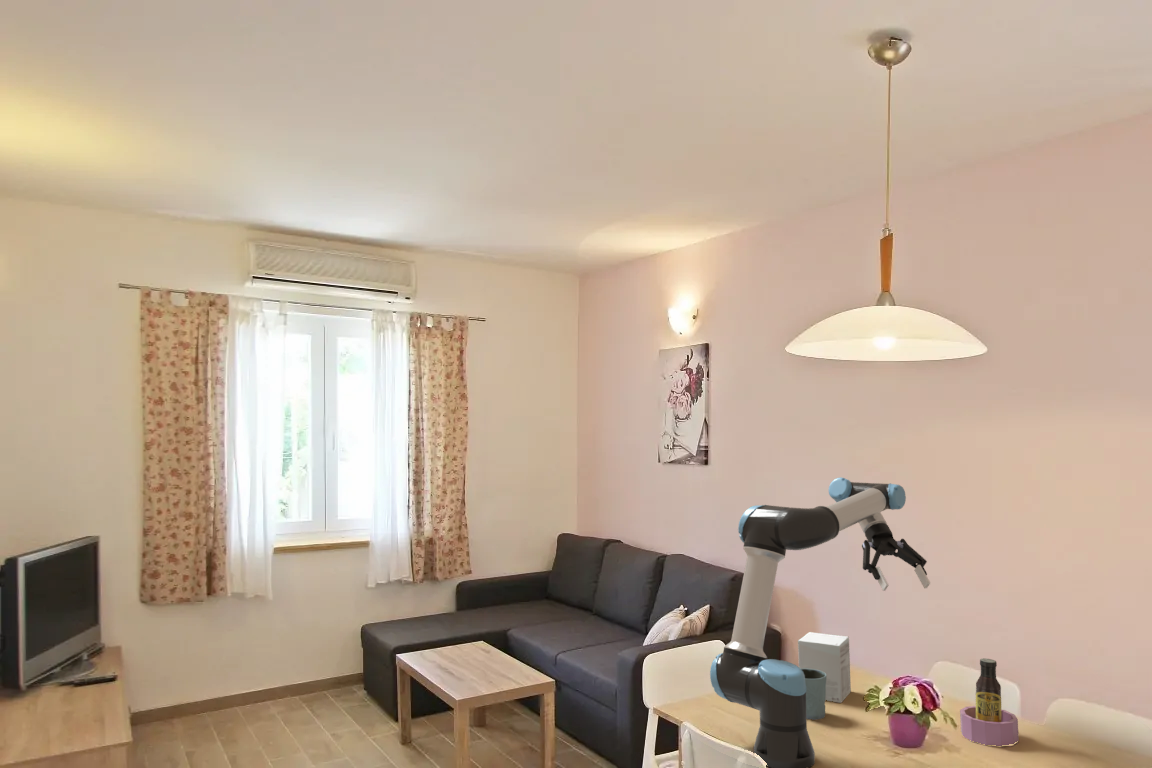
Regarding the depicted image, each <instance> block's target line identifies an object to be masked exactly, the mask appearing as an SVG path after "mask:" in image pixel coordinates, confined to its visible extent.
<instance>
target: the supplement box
mask: <svg viewBox="0 0 1152 768" xmlns="http://www.w3.org/2000/svg"><path fill="white" fill-rule="evenodd" d="M797 649H798V650H797V652H798V667H799V668H800V669H803V668H806V669H815V670H820V671H822V672H824V673H826V692H825V693H826V697H825V701H826V700H827V701H828V702H832V701H833V702H832V703H839V704H840V703H842V702H843V701H844V700H845V699H846V698H847V697H848V696H849V695H850V693H851V692H852V691H851V690H852V688H851V687H852V686H851V683H852V682H851V661H850V660H851V658H850V657H851V656H850V655H851V654H850V653H851V652H850V637H849V636H846V635H845V636H844V635H835V634H829V633H828V634H827V633H820V632H812V631H809V632H807V633H806V634H805V635H804V636H802V637H801V638H800V639H798V640H797ZM827 701H826V702H827Z"/></svg>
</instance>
